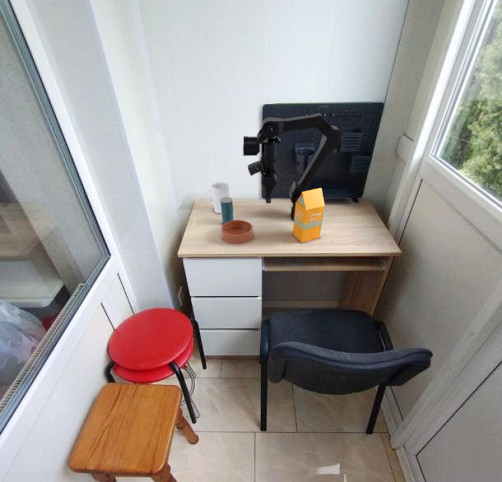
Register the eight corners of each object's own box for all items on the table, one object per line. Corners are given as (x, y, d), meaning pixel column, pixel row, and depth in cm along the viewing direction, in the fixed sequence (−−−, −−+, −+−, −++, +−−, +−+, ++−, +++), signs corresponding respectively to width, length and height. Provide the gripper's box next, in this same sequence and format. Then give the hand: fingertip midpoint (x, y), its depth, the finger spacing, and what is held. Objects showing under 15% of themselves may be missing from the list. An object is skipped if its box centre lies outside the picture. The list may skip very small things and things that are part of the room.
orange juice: (292, 234, 123) (296, 188, 109) (309, 229, 126) (316, 184, 112) (301, 242, 118) (307, 195, 104) (319, 237, 120) (327, 191, 106)
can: (235, 221, 132) (234, 197, 124) (231, 227, 128) (229, 202, 120) (225, 220, 133) (223, 196, 125) (220, 225, 130) (218, 201, 122)
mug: (205, 213, 139) (202, 188, 130) (209, 205, 145) (206, 181, 136) (229, 213, 138) (227, 189, 129) (231, 205, 144) (230, 182, 135)
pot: (252, 228, 127) (252, 219, 124) (252, 244, 117) (252, 235, 114) (223, 229, 127) (222, 220, 124) (221, 245, 118) (220, 235, 114)
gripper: (248, 148, 122) (249, 185, 132) (248, 163, 108) (249, 202, 119) (274, 148, 121) (273, 184, 132) (277, 162, 108) (275, 202, 119)
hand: (267, 193), depth 126 cm, fingers open, 9 cm apart
